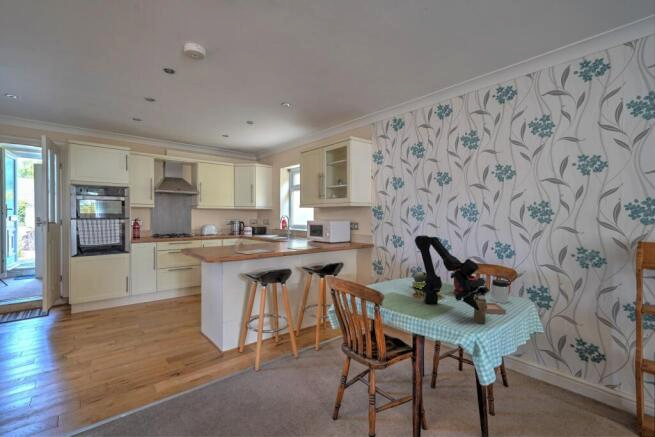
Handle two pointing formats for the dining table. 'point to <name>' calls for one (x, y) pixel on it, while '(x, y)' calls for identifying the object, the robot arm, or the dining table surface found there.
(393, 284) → the dining table surface
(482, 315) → the pepper mill
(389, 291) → the dining table surface
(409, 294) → the dining table surface
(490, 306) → the stand
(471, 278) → the plant pot
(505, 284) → the jar
